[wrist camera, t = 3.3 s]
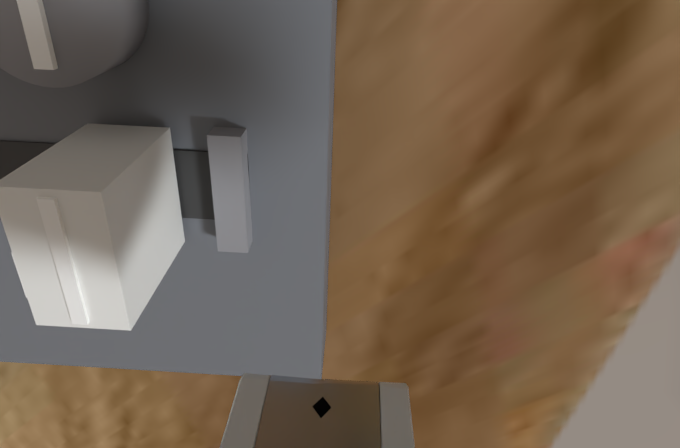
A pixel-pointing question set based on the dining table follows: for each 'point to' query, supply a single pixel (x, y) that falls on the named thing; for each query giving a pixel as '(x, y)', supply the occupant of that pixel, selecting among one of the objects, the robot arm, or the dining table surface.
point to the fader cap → (94, 224)
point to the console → (189, 170)
